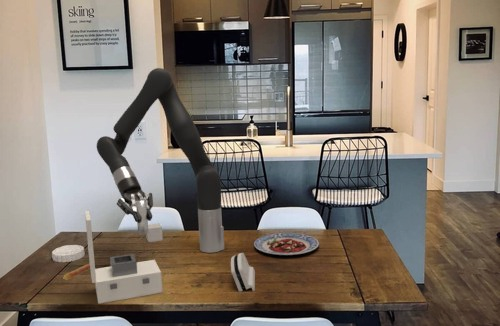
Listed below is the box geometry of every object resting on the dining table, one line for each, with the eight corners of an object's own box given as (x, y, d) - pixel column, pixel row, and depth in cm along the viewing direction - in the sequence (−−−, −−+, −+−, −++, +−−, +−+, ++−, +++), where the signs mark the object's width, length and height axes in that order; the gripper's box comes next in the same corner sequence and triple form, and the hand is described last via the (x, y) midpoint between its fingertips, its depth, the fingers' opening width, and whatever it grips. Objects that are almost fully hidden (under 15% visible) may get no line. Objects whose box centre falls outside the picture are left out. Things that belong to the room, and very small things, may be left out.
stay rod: (147, 230, 181) (145, 198, 179) (149, 233, 178) (146, 200, 176) (137, 232, 180) (135, 199, 178) (138, 235, 177) (136, 202, 175)
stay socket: (134, 265, 168) (133, 253, 168) (137, 273, 161) (136, 261, 161) (110, 268, 166) (109, 257, 165) (112, 277, 159) (112, 265, 158)
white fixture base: (155, 278, 174) (150, 203, 169) (162, 293, 162) (157, 212, 158) (91, 289, 167) (84, 210, 162) (94, 305, 155) (86, 220, 151)
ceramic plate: (332, 249, 198) (332, 242, 198) (280, 264, 184) (280, 257, 184) (291, 233, 219) (291, 227, 219) (241, 246, 205) (241, 239, 205)
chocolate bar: (62, 280, 177) (61, 274, 177) (87, 268, 187) (87, 262, 187) (67, 281, 176) (67, 275, 175) (92, 269, 186) (92, 263, 186)
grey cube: (159, 236, 221) (159, 223, 220) (162, 240, 215) (161, 226, 214) (146, 238, 219) (145, 225, 218) (148, 242, 213) (147, 228, 212)
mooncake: (53, 254, 203) (52, 246, 202) (84, 250, 206) (83, 242, 206) (51, 264, 192) (50, 255, 191) (84, 260, 195) (84, 251, 195)
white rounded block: (254, 291, 162) (242, 263, 160) (240, 296, 162) (229, 268, 161) (255, 271, 178) (244, 246, 177) (242, 275, 179) (232, 250, 177)
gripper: (111, 178, 177) (129, 219, 170) (147, 172, 186) (166, 210, 179) (105, 191, 182) (123, 230, 174) (140, 184, 191) (159, 222, 184)
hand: (145, 220), depth 177 cm, fingers closed on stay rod, 3 cm apart
